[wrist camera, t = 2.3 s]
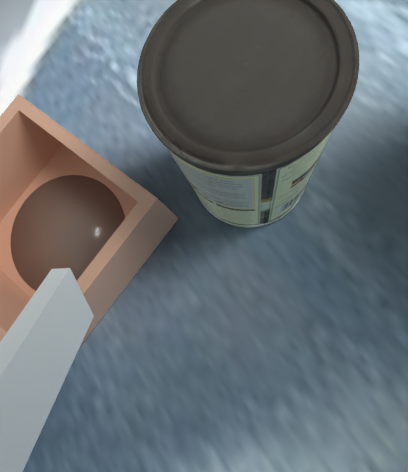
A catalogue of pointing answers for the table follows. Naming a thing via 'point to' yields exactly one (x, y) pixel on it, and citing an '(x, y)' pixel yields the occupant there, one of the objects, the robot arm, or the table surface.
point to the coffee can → (248, 97)
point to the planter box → (68, 215)
